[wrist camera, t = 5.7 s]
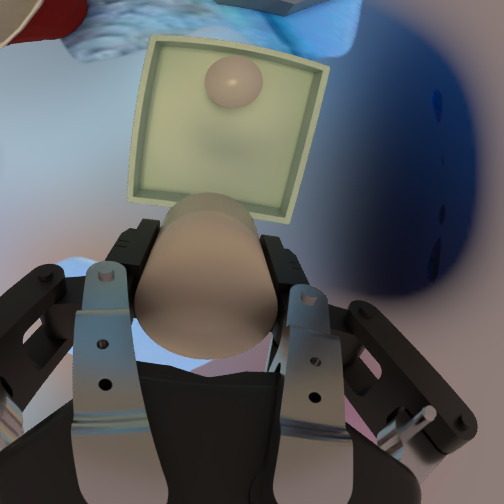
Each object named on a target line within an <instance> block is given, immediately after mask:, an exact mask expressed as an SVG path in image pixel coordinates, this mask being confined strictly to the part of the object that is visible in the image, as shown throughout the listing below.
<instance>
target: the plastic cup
mask: <svg viewBox="0 0 504 504" xmlns="http://www.w3.org/2000/svg"><path fill="white" fill-rule="evenodd" d="M87 10H88V3H87V0H0V49H1V48H3V47H5V46H7V45H10V44H14V43H22V42H32V41H41V40H52V39H53V40H55V39H59V38H62V37H65V36H67V35H69V34H70V33H72V32H73V31H75V30H76V29H77V27H78V26H79V25H80V24H81V23H82V22H83V20H84V18H85V16H86V15H87Z"/></svg>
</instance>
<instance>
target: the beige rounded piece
mask: <svg viewBox="0 0 504 504" xmlns="http://www.w3.org/2000/svg"><path fill="white" fill-rule="evenodd" d="M262 86H263V77H262V73H261V71H260V69H259V68H258V66H257V65H256V64H255V63H254V62H253V61H251V60H249V59H248V58H245V57H242V56H227V57H223V58H221V59H219V60H217V61H216V62H214V63H213V64H212V65H211V66H210V68H209V69H208V71H207V73H206V76H205V89H206V92H207V94H208V95H209V97H210V98H211V99H212V100H213V101H214V102H215V103H216V104H217V105H219V106H221V107H224V108H240V107H244V106H246V105H248V104H250V103H252V102H253V101H254V100H255V99H256V98H257V97H258V95H259V94H260V92H261V90H262Z"/></svg>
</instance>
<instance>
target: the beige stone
mask: <svg viewBox="0 0 504 504" xmlns="http://www.w3.org/2000/svg"><path fill="white" fill-rule="evenodd" d="M134 308H135V314H136V317H137V320H138V322H139V324H140V326H141V327H142V329H143V330H144V332H145V333H146V334H147V335H148V336H149V337H150V338H151V339H152V340H153V341H154V342H155V343H157V344H158V345H160V346H161V347H163V348H165V349H166V350H168V351H170V352H173V353H175V354H178V355H181V356H184V357H189V358H194V359H206V360H209V359H221V358H227V357H231V356H235V355H238V354H240V353H243V352H245V351H247V350H249V349H251V348H253V347H254V346H255V345H257V344H258V343H260V342H261V341H262V340H263V339H264V338H265V337H266V336H267V334H268V333H269V332H270V330H271V329H272V327H273V325H274V323H275V321H276V317H277V311H278V303H277V298H276V294H275V290H274V287H273V283H272V280H271V277H270V273H269V270H268V267H267V263H266V260H265V257H264V253H263V250H262V247H261V243H260V240H259V237H258V233H257V230H256V227H255V224H254V221H253V219H252V217H251V215H250V213H249V212H248V211H247V209H246V208H245V207H244V206H243V205H242V204H240V203H239V202H238V201H236V200H235V199H233V198H231V197H229V196H226V195H223V194H219V193H211V192H205V193H197V194H193V195H190V196H188V197H186V198H183V199H182V200H180V201H179V202H177V203H176V204H175V205H174V206H173V207H172V208H171V209H170V210H169V211H168V213H167V215H166V216H165V218H164V220H163V223H162V225H161V227H160V230H159V232H158V235H157V237H156V239H155V242H154V244H153V247H152V250H151V252H150V255H149V257H148V260H147V262H146V265H145V268H144V270H143V273H142V276H141V279H140V281H139V284H138V287H137V290H136V293H135V299H134Z"/></svg>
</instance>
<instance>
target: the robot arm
mask: <svg viewBox="0 0 504 504" xmlns="http://www.w3.org/2000/svg"><path fill="white" fill-rule="evenodd" d="M159 230H160V221H159V220H151V219H142V221H141V222H140V224H139V226H138V228H137V229H132V228H129V229H128V230H126V231H125V232H123V233H121V235H120V236H119V238H118V240H117V241H116V243H115V244H114V246H113V248H112V249H111V251H110V253H109V254H108V256H107V258H106V259H105V261H102V262H98V263H95V264H93V265H92V266H90V267H89V268H88V270H87V272H86V276H81V277H67V278H65V275H64V270H63V269H62V268H61V267H60V266H58V265H55V264H45V265H41V266H38V267H37V268H35V269H33V270H32V271H31V272H30V273H29V274H27V275H26V276H25V277H23V278H22V279H21V280H20V281H18V282H17V283H16V284H15V285H13V287H11V288H10V289H9V290H7V291H6V292H5V293H4V294H3V295H2V296H1V297H0V504H421V489H420V483H422V481H424V480H425V479H426V477H427V476H428V475H429V474H430V473H431V472H432V471H433V470H434V469H435V468H436V467H437V466H438V465H439V463H440V462H441V461H442V460H443V459H444V458H445V457H447V456H448V455H450V454H451V453H453V452H454V451H456V450H457V449H459V448H460V447H462V446H463V445H464V444H466V443H467V442H469V441H470V440H471V439H473V438H474V437H475V435H476V433H477V421H476V418H475V416H474V414H473V413H472V411H471V410H470V409H469V408H468V407H467V405H466V404H465V403H464V402H463V401H462V399H461V398H460V397H459V396H458V395H457V394H456V392H455V391H454V390H453V389H452V388H451V387H450V386H449V385H448V383H447V382H446V381H445V380H444V379H443V378H442V377H441V375H440V374H439V373H438V372H437V371H436V370H435V369H434V368H433V367H432V366H431V364H430V363H429V362H428V361H427V360H426V359H425V358H424V357H423V356H422V355H421V354H420V352H419V351H418V350H417V349H416V348H415V347H414V346H413V345H412V344H411V343H410V342H409V341H408V340H407V339H406V338H405V337H404V336H403V335H402V333H401V332H399V330H398V329H397V328H396V327H395V326H394V325H393V324H392V323H391V322H390V321H389V320H388V319H387V318H386V317H385V316H384V315H383V314H382V313H381V312H380V311H379V310H378V309H377V308H376V307H375V306H373V305H372V304H370V303H368V302H365V301H361V300H355V301H352V302H351V303H350V304H349V306H348V308H347V309H343V308H339V307H335V306H333V305H330V304H328V299H327V297H326V295H325V294H324V293H323V292H322V291H321V290H319V289H318V288H316V287H313V286H311V285H310V284H309V282H308V280H307V278H306V276H305V274H304V272H303V270H302V268H301V265H300V264H299V261H298V259H297V257H296V255H294V254H293V253H292V252H291V251H290V250H289V249H284V248H283V245H282V243H281V241H280V238H279V237H275V236H269V235H261V237H260V243H261V247H262V250H263V253H264V257H265V260H266V263H267V267H268V270H269V273H270V277H271V280H272V283H273V287H274V290H275V294H276V298H277V303H278V311H277V317H276V321H275V323H274V325H273V327H272V329H271V330H270V332H272V334H273V338H272V340H271V343H270V347H269V352H268V357H267V363H266V368H265V372H240V373H235V374H229V375H223V376H216V377H204V376H201V375H198V374H194V373H191V372H188V371H185V370H182V369H178V368H175V367H172V366H169V365H161V364H154V363H147V362H140V361H136V359H135V352H134V345H133V338H132V330H131V325H132V321H133V318H137V317H136V314H135V308H134V299H135V293H136V290H137V287H138V284H139V281H140V279H141V276H142V273H143V270H144V268H145V265H146V262H147V260H148V257H149V255H150V252H151V250H152V247H153V244H154V242H155V239H156V237H157V235H158V232H159ZM39 318H40V320H41V322H42V325H41V326H40V327H39V328H38V329H37V330H36V331H35V332H34V333H33V334H32V335H31V337H30V338H29V339H28V340H27V341H26V342H25V343H24V344H23V336H24V334H25V332H26V331H27V330H28V329H29V328H30V327H31V326H32V325H33V324H34V323H35V322H36V321H37V320H38V319H39ZM72 346H73V399H72V400H70V401H69V402H68V403H66V404H65V405H64V406H62V407H61V408H59V409H58V410H57V411H55V412H54V413H52V414H51V415H50V416H48V417H47V418H45V419H44V420H43V421H41V422H40V423H39V424H37V425H36V426H34V427H33V428H32V429H30V430H29V431H27V432H26V433H25V434H23V433H24V429H23V426H22V425H23V417H22V412H23V411H24V409H25V408H26V406H27V405H28V403H29V402H30V401H31V399H32V398H33V397H34V395H35V394H36V392H37V391H38V390H39V388H40V387H41V386H42V384H43V383H44V382H45V380H46V379H47V378H48V376H49V375H50V374H51V373H52V371H53V370H54V369H55V367H56V366H57V365H58V364H59V362H60V361H61V360H62V359H63V357H64V356H65V355H66V354H67V352H68V351H69V350H70V349H71V347H72ZM365 348H366V349H367V350H368V351H369V352H370V354H371V355H372V356H373V357H374V358H375V359H376V361H377V362H378V363H379V364H380V366H381V369H382V374H381V377H380V378H379V379H377V378H376V377H375V376H374V374H373V373H372V372H371V371H370V369H369V368H368V367H367V366H366V365H365V364H364V362H363V361H362V360H361V359H360V357H359V356H360V355H361V354H362V352H363V351H364V349H365ZM344 395H345V396H346V397H347V399H348V400H349V402H350V403H351V404H352V405H353V407H354V408H355V410H356V411H357V412H358V414H359V415H360V417H361V418H362V419H363V421H364V422H365V423H366V425H367V426H368V427H369V429H370V430H371V432H373V434H374V436H375V437H376V438H377V445H376V444H374V443H373V442H372V441H370V440H369V439H368V438H366V437H365V436H364V435H362V434H361V433H360V432H358V431H357V430H356V429H354V428H353V427H352V426H351V425H349V424H348V423H347V422H345V400H344Z"/></svg>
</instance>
